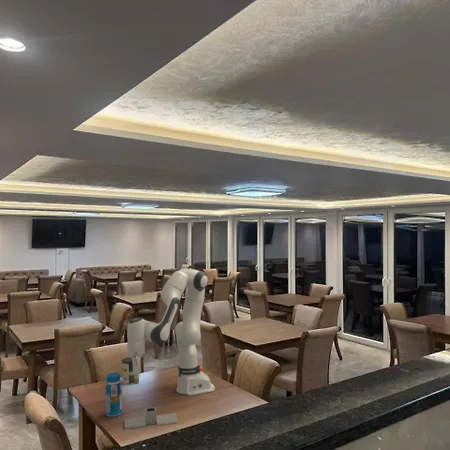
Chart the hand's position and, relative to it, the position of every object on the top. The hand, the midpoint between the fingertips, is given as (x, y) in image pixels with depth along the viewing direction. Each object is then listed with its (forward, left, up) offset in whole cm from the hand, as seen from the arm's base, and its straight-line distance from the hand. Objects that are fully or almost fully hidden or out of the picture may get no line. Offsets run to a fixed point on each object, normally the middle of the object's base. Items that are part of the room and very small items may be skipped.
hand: (136, 377), depth 214 cm
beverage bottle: (+12, -5, -19) cm, 23 cm away
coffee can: (+3, -51, -19) cm, 54 cm away
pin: (0, 0, -3) cm, 3 cm away
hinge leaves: (-6, +10, -19) cm, 22 cm away
